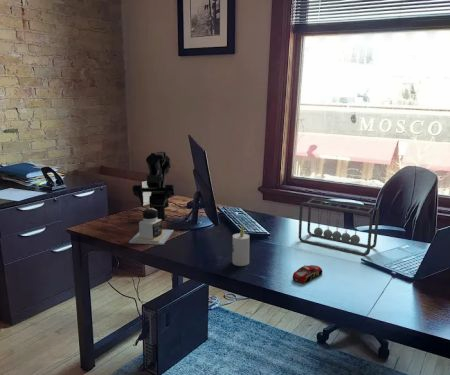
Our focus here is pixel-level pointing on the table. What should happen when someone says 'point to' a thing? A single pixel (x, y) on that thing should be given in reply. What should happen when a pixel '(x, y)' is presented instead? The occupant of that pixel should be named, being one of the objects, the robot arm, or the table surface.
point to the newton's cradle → (337, 235)
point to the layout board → (158, 240)
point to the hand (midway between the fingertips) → (152, 206)
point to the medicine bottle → (150, 225)
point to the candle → (241, 248)
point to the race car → (307, 273)
